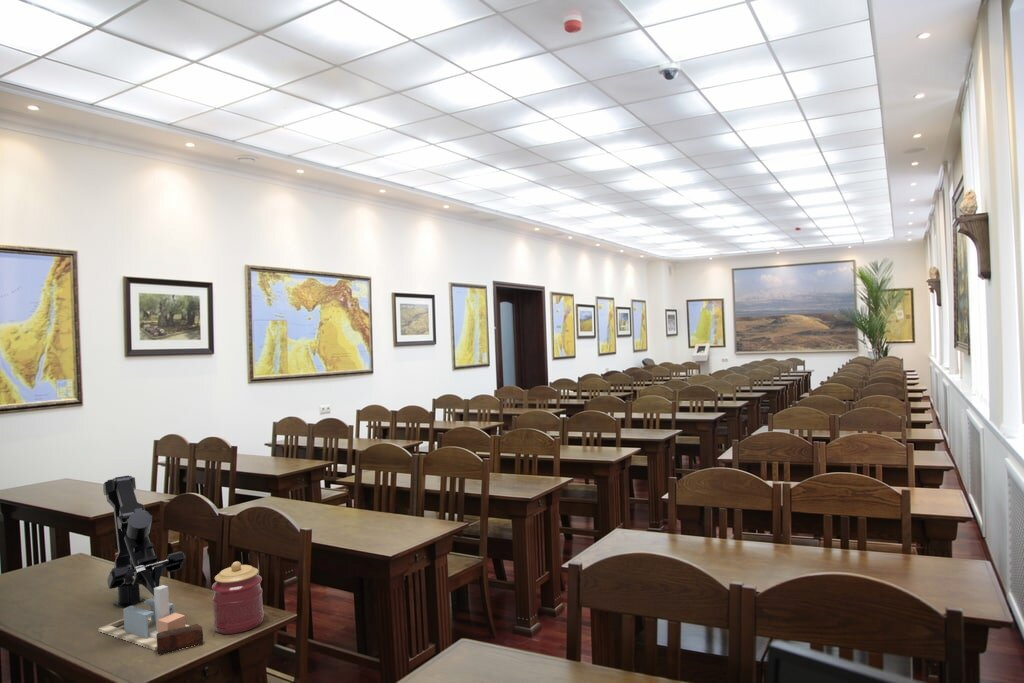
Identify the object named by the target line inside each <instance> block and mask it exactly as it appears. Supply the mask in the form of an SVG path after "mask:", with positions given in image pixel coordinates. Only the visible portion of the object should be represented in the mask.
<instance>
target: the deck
mask: <svg viewBox="0 0 1024 683" xmlns="http://www.w3.org/2000/svg"><path fill="white" fill-rule="evenodd" d="M186 626H190V625H189V624H186ZM155 630H156V622H154V621H151V616H150V617H148V634H149V633H150V632H153V631H155ZM97 631H99V632H98V633H100V632H102V633H101V634H103V633H105V634H104V635H106V634H108V635H107V636H109V635H111V636H110V637H112V636H114V637H113V638H115V637H118V638H120V639H119V640H121V639H123V640H122V641H124V640H126V641H125V642H127V641H129V642H128V643H130V642H132V643H131V644H133V643H135V644H134V645H136V644H138V645H137V646H139V645H141V646H140V647H142V646H143V647H142V648H145V647H146V649H148V648H149V649H148V650H151V649H152V651H154V650H156V651H157V639H156V638H153V637H150V636H149V638H147V639H146V638H143V637H140V636H137V635H134V634H131V633H128V632H125V630H124V617H123V618H121V619H118V620H116V621H113V622H111V623H107V624H106V625H103V626H99V628H97ZM118 638H117V639H118Z"/></svg>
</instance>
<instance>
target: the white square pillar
mask: <svg viewBox="0 0 1024 683" xmlns="http://www.w3.org/2000/svg"><path fill="white" fill-rule="evenodd" d="M153 598H154V601H155V620H156V630H155V631H153V632H150V633H149V636H150V637H153V638H156V639H157V636H156V634H157V633H160V632H163V631H167V630H173V629H178V628H182V627H186V625H187V624H186V623H187V621H186V615H184V614H181V613H178V612H174V613H173V614H171V615H170V612H169V603H170V600H169V599H170V595H169V586H168V585H164V584H161V585H159V587H156V588H154V596H153Z"/></svg>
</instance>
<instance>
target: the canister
mask: <svg viewBox="0 0 1024 683" xmlns="http://www.w3.org/2000/svg"><path fill="white" fill-rule="evenodd" d="M258 573H259V569H258V568H256V567H254V566H252V565H249V564H242V563H241V561H234V562H233V563H232V564H231V566H228V567H227V568H224V569H222V570H221V571H219V573H217V575H215V576H214V580H215V582H214V583H213V584H212V586H211V589H212V591H213V592H214V593H213V597H212V604H213V626H214V627H213V628H214V631H215V632H217V633H219V634H222V633H223V634H225V635H228V634H229V635H232V634H239V633H242V632H243V633H244V632H247V631H250V630H253V629H254V628H257V627H258V626H259V625H261V623H263V621H264V616H265V614H264V613H265V612H264V608H263V588H262V587H261V582H262V580H263V578H262V576H261V575H259V574H258Z"/></svg>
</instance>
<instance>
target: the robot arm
mask: <svg viewBox="0 0 1024 683" xmlns="http://www.w3.org/2000/svg"><path fill="white" fill-rule="evenodd" d="M102 485H103V486H102V489H103V490H102V491H103V495H104V496H106V497H105V498H106V501H107V502H106V503H108V504H109V506H111V507H112V508H113V515H114V524H115V532H116V543H117V544H116V545H117V550H118V551H117V552H118V554H117V556H116V558H115V560H114V562H113V568H112V569H111V570H110V572H109V575H108V577H107V586H108V589H111V590H112V589H116V588H117V601H114V602H113V603H112V605H113V606H117V607H120V608H123V609H124V608H127V607H129V606H134V605H136V604H139V603H141V601H142V602H144V601H145V600H146V599H145V598H144V597H141V593H140V586H142V587H144V588H145V589H146V590H148V591H149V593H150V594H151V595H153V597H154V588H156V587H159V586H160V580H161V577H162V576H163V573H164V572H165V571H166V572H168V573H172V572H176V571H178V570H180V569H182V568H183V566H184V563H185V561H186V559H187V557H186V554H185V553H184V552H183V551H181V550H180V551H177V552H172V553H169V554H167V556H166V559H165V560H161V561H158V559H159V556H158V555H157V554H155V551H154V543H153V542H151V540H150V537H149V535H150V532H151V527H152V522H153V521H154V518H153V515H152V514H150V513H149V511H148V510H146V508H145V505H144V504H143V503H140V502H139V501H138V500H137V497H136V494H135V491H136V489H137V487H136V486H137V484H136V477H133V476H132V475H123V476H116V477H114V478H112V479H111V478H110V479H108V480H106V481H105V482H104V483H103V484H102ZM143 600H144V601H143ZM138 602H139V603H138ZM133 604H134V605H133Z"/></svg>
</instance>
